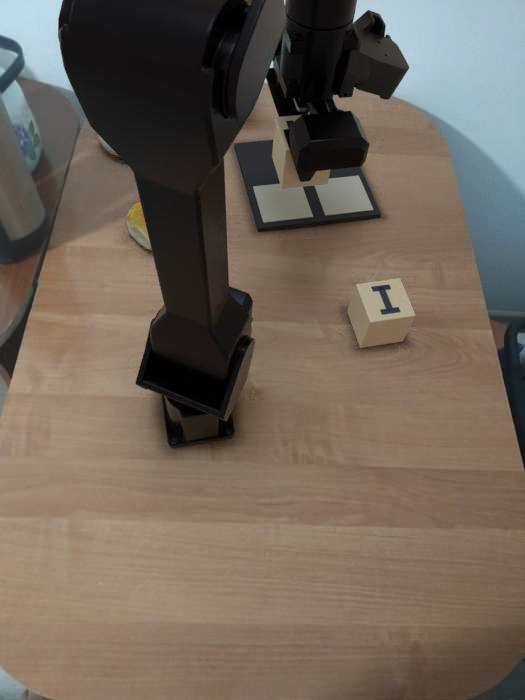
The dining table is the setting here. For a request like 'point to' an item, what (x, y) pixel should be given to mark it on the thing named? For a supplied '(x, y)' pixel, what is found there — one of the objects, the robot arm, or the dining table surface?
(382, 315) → the letter I
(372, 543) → the dining table surface
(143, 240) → the bread roll
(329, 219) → the word mat
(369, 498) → the dining table surface
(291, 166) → the letter H
